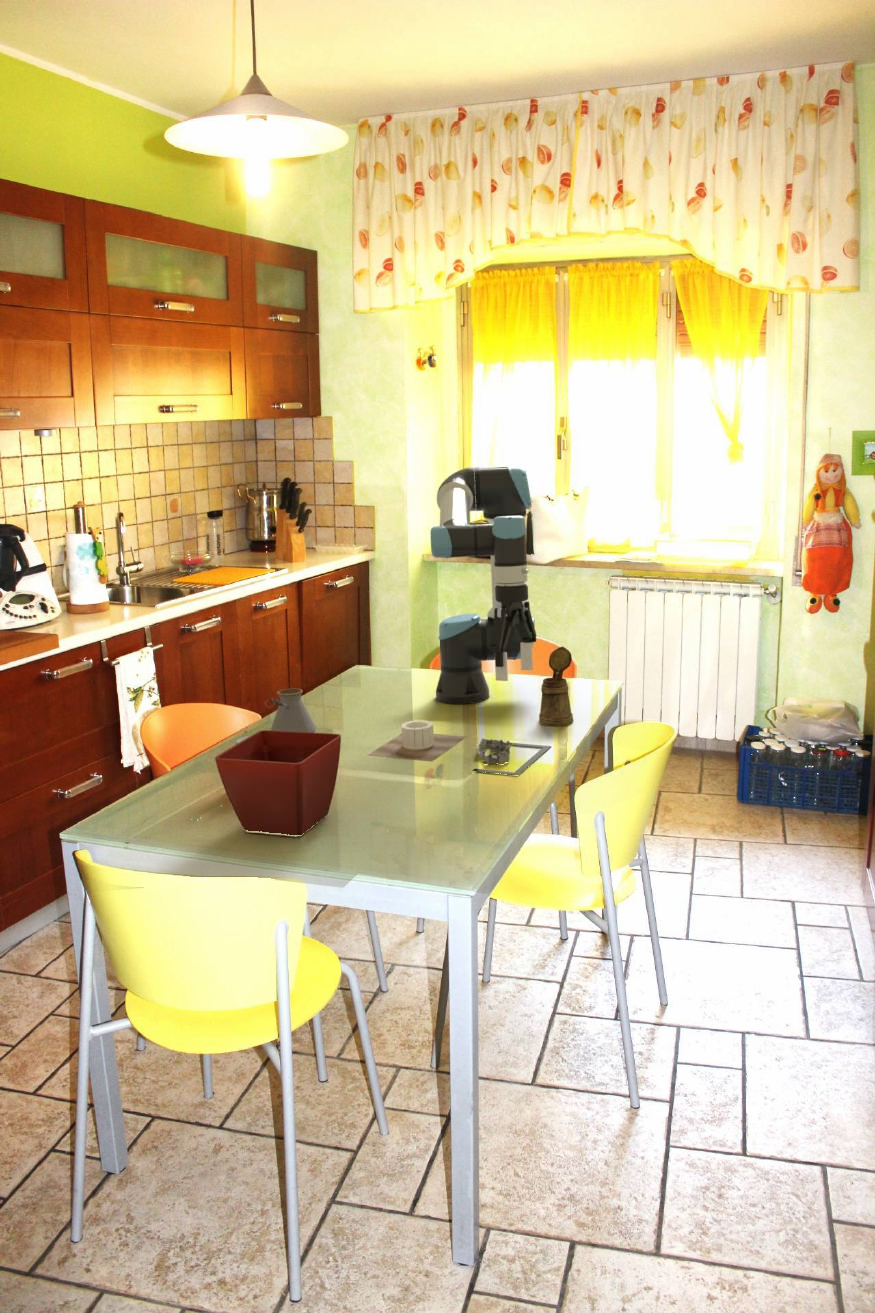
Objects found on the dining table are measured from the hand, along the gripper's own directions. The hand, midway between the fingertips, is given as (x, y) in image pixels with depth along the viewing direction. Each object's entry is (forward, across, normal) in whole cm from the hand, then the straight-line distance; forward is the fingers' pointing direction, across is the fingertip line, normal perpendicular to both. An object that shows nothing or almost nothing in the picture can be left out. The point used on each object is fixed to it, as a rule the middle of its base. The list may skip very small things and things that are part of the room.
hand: (514, 675), depth 256 cm
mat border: (+19, -3, +4) cm, 20 cm away
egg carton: (+20, -3, +5) cm, 21 cm away
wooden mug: (+18, +32, +3) cm, 36 cm away
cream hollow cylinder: (+18, -4, +24) cm, 30 cm away
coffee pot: (+19, -13, +58) cm, 62 cm away
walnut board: (+19, -4, +24) cm, 31 cm away
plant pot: (+22, -56, +25) cm, 66 cm away
